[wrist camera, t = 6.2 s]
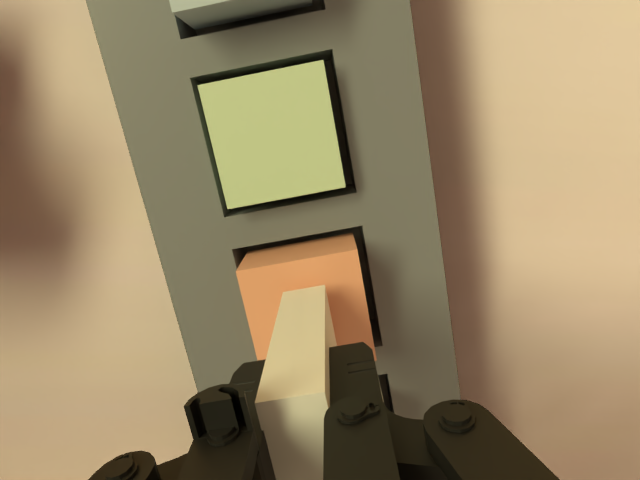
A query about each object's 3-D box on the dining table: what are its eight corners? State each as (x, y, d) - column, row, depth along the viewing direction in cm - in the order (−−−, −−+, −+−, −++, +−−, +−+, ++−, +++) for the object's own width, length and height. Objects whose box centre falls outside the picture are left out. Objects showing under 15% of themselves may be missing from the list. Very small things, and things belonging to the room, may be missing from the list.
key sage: (239, 198, 19) (227, 209, 17) (214, 90, 18) (197, 85, 16) (342, 179, 19) (345, 187, 16) (323, 69, 18) (323, 59, 15)
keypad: (250, 487, 24) (240, 540, 21) (83, -133, 17) (31, -188, 14) (454, 455, 24) (474, 504, 21) (365, -198, 17) (375, -270, 14)
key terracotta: (269, 347, 20) (262, 379, 17) (247, 251, 19) (235, 271, 16) (369, 330, 20) (376, 360, 17) (352, 232, 18) (357, 249, 16)
